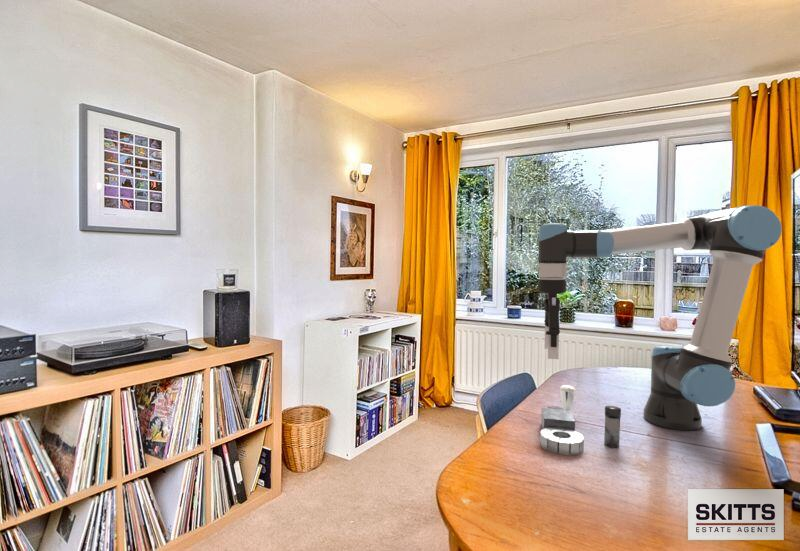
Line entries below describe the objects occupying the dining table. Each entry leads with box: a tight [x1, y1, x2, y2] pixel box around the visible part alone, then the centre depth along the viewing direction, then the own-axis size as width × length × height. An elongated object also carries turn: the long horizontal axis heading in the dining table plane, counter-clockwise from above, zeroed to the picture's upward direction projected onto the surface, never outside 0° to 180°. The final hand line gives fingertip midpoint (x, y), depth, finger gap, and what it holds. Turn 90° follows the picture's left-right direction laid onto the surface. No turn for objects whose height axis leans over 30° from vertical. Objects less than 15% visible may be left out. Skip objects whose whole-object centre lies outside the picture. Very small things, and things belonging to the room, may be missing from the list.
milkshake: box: [559, 383, 579, 415], centre depth 140 cm, size 4×5×10 cm
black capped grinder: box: [603, 405, 622, 449], centre depth 116 cm, size 4×4×10 cm
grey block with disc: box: [539, 406, 585, 456], centre depth 121 cm, size 10×22×5 cm, turn 166°
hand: (551, 353), depth 125 cm, fingers open, 13 cm apart
